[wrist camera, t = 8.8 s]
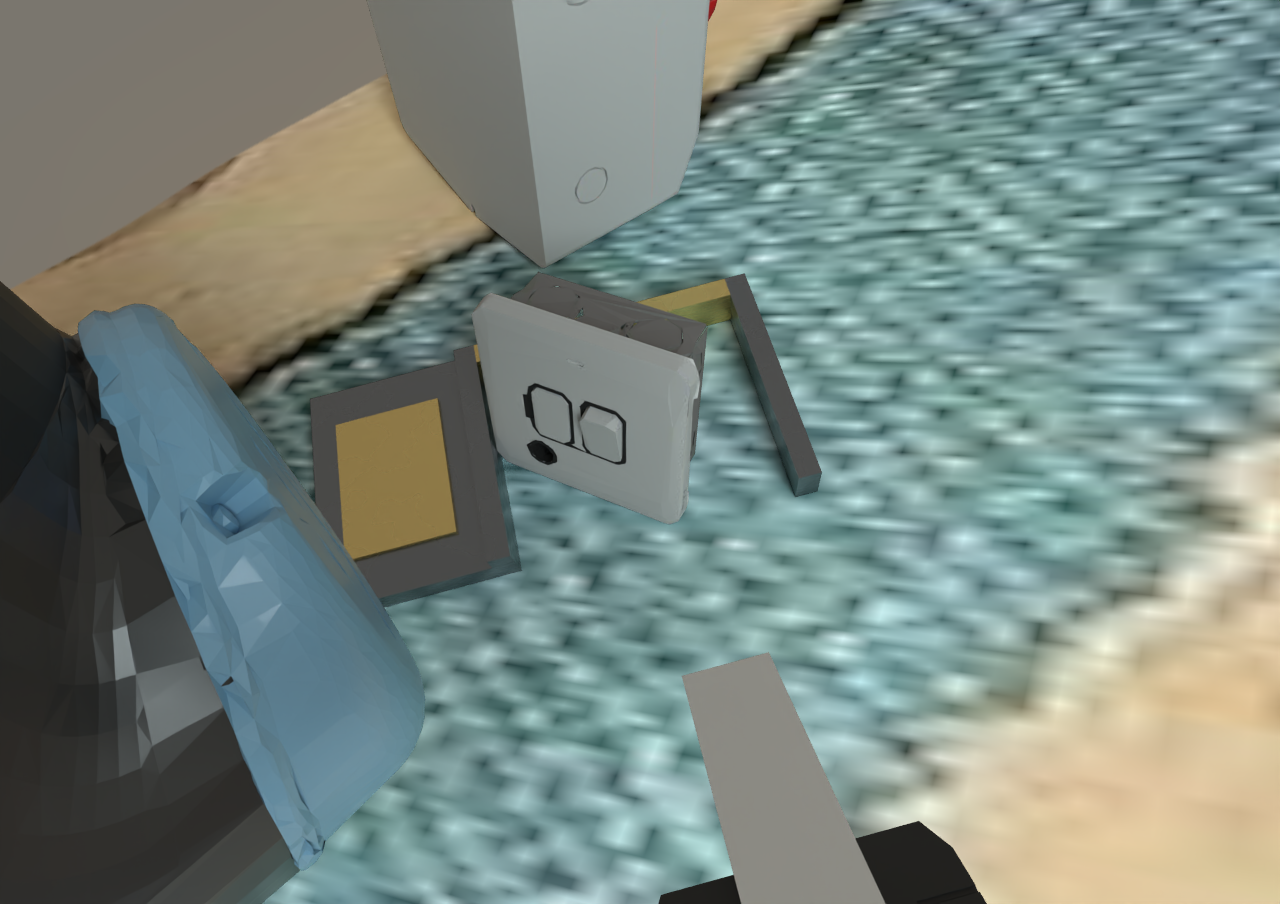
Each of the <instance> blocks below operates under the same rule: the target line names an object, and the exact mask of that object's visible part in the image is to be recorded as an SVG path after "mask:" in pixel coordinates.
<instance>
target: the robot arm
mask: <svg viewBox="0 0 1280 904" xmlns="http://www.w3.org/2000/svg"><path fill="white" fill-rule="evenodd" d="M78 325H79V326H78V333H77V334H75V335H74V336H70V335H68V334H66V333H64V332H62V331H60V330H58V329H56V328H54V327H53V326H52V325H50V324H49V323H48V322H47V321H46V320H44V319H43V318H42V317H41V316H40V315H39V314H37V313H36V312H35V311H34V310H33V309H32V308H31V307H29V306H28V305H27V304H26V303H25V302H24V301H22V300H21V299H20V298H19V297H18V296H17V295H16V294H14V293H13V292H12V291H11V290H10V289H9V288H7V287H6V286H5V285H4V284H3V283H2V282H0V904H261V903H263V902H264V901H265V900H266V899H267V898H268V897H270V896H271V895H272V894H273V893H274V892H275V891H277V890H278V889H279V888H280V887H281V886H282V885H284V884H285V883H286V882H287V881H288V880H289V879H291V878H292V877H293V876H294V875H295V874H296V873H298V872H299V871H300V870H301V871H303V870H306V869H308V868H309V867H310V866H311V865H313V864H314V863H315V862H316V861H317V860H318V858H319V857H320V855H321V854H322V852H323V849H324V844H325V841H326V840H327V839H328V838H329V837H330V836H331V835H332V834H333V833H334V832H335V831H336V830H337V829H338V828H339V827H340V826H341V825H342V824H343V823H345V822H346V821H347V820H348V819H349V818H350V817H351V816H352V815H353V814H354V813H355V812H356V811H357V810H358V809H359V808H360V807H361V806H362V805H363V804H364V803H365V802H366V801H367V800H368V799H369V798H370V797H371V796H372V795H373V794H374V793H375V792H376V791H377V790H378V789H379V788H380V787H381V786H382V785H383V784H384V783H385V782H386V781H387V780H388V779H389V778H390V777H391V776H392V775H393V774H394V773H395V772H396V771H397V770H398V769H399V768H400V767H401V766H402V765H403V764H404V762H405V761H406V760H407V759H408V757H409V756H410V754H411V753H412V751H413V749H414V748H415V744H416V742H417V740H418V738H419V735H420V733H421V730H422V727H423V722H424V717H425V715H424V709H425V695H424V688H423V682H422V678H421V675H420V672H419V670H418V667H417V665H416V663H415V661H414V659H413V657H412V655H411V653H410V651H409V650H408V648H407V646H406V644H405V643H404V641H403V639H402V637H401V635H400V634H399V632H398V630H397V628H396V627H395V625H394V623H393V622H392V620H391V618H390V617H389V615H388V613H387V612H386V610H385V608H384V607H383V605H382V604H381V602H380V601H379V599H378V597H377V596H376V594H375V593H374V591H373V590H372V588H371V586H370V585H369V583H368V582H367V580H366V579H365V577H364V576H363V574H362V573H361V571H360V570H359V568H358V567H357V565H356V564H355V562H354V560H353V559H352V557H351V556H350V554H349V553H348V551H347V550H346V548H345V547H344V545H343V544H342V542H341V541H340V540H339V538H338V537H337V535H336V534H335V532H334V531H333V529H332V528H331V526H330V525H329V524H328V522H327V521H326V519H325V518H324V516H323V515H322V513H321V512H320V511H319V509H318V508H317V506H316V505H315V503H314V502H313V500H312V499H311V498H310V496H309V495H308V493H307V492H306V491H305V489H304V488H303V486H302V485H301V484H300V482H299V481H298V479H297V478H296V477H295V475H294V474H293V472H292V471H291V470H290V468H289V467H288V466H287V464H286V463H285V461H284V460H283V459H282V457H281V456H280V454H279V453H278V452H277V450H276V449H275V447H274V446H273V445H272V443H271V442H270V440H269V439H268V438H267V436H266V435H265V434H264V432H263V431H262V430H261V428H260V427H259V426H258V424H257V423H256V422H255V420H254V419H253V418H252V416H251V415H250V414H249V412H248V411H247V410H246V408H245V407H244V406H243V404H242V403H241V402H240V400H239V399H238V398H237V397H236V395H235V394H234V393H233V391H232V390H231V389H230V388H229V386H228V385H227V384H226V382H225V381H224V380H223V379H222V377H221V376H220V375H219V374H218V372H217V371H216V370H215V368H214V367H213V366H212V365H211V364H210V363H209V361H208V360H207V359H206V358H205V357H204V356H203V354H202V353H201V352H200V351H199V350H198V349H197V347H195V346H194V345H193V344H191V343H190V342H189V341H188V340H187V339H186V338H185V336H184V335H183V334H182V333H181V332H180V331H179V330H178V329H177V327H176V325H175V323H174V321H173V320H172V319H170V318H169V317H168V316H167V315H166V314H165V313H163V312H162V311H160V310H158V309H157V308H155V307H153V306H149V305H145V304H132V305H128V306H124V307H122V308H120V309H118V310H116V311H113V312H110V313H109V312H105V311H95V310H94V311H93V312H92V313H90V314H89V315H88V316H87V317H85V318H84V319H83V320H82V321H80V322H79V323H78ZM682 678H683V682H684V686H685V690H686V694H687V697H688V701H689V705H690V709H691V713H692V717H693V720H694V724H695V728H696V732H697V736H698V740H699V743H700V747H701V751H702V755H703V759H704V763H705V766H706V770H707V774H708V778H709V782H710V786H711V789H712V793H713V797H714V801H715V805H716V809H717V812H718V816H719V820H720V824H721V828H722V832H723V835H724V839H725V843H726V847H727V851H728V855H729V858H730V862H731V866H732V870H733V874H734V875H731V876H728V877H724V878H721V879H717V880H713V881H710V882H706V883H703V884H699V885H695V886H692V887H688V888H685V889H681V890H677V891H674V892H670V893H667V894H663V895H661V897H660V900H659V904H987V903H986V902H985V900H984V898H983V897H982V895H981V893H980V892H978V891H977V889H976V886H975V884H974V882H973V880H972V879H971V877H970V875H969V874H968V872H967V870H966V869H965V867H964V865H963V864H962V862H961V860H960V859H959V857H958V856H957V854H956V852H955V851H954V849H953V848H952V847H951V846H950V845H949V844H947V843H946V842H945V841H944V840H942V839H941V838H940V837H938V836H937V835H936V834H935V833H933V832H932V831H931V830H930V829H928V828H927V827H926V826H925V825H923V824H922V823H921V822H919V821H917V822H913V823H910V824H906V825H903V826H899V827H895V828H892V829H888V830H885V831H881V832H877V833H874V834H870V835H867V836H863V837H859V838H856V839H855V837H854V835H853V833H852V831H851V828H850V826H849V824H848V822H847V820H846V818H845V816H844V813H843V811H842V809H841V807H840V805H839V803H838V800H837V798H836V796H835V794H834V792H833V790H832V787H831V785H830V783H829V781H828V779H827V777H826V775H825V772H824V770H823V768H822V766H821V764H820V762H819V759H818V757H817V755H816V753H815V751H814V749H813V747H812V744H811V742H810V740H809V738H808V736H807V734H806V731H805V729H804V727H803V725H802V723H801V721H800V719H799V716H798V714H797V712H796V710H795V708H794V706H793V703H792V701H791V699H790V697H789V695H788V693H787V691H786V688H785V686H784V684H783V682H782V680H781V678H780V675H779V673H778V671H777V669H776V667H775V665H774V663H773V660H772V658H771V656H770V654H769V652H768V653H765V654H761V655H757V656H754V657H750V658H746V659H743V660H739V661H735V662H732V663H728V664H724V665H721V666H717V667H713V668H710V669H706V670H702V671H699V672H695V673H691V674H688V675H684V676H682Z"/></svg>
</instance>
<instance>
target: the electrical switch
mask: <svg viewBox="0 0 1280 904" xmlns="http://www.w3.org/2000/svg"><path fill="white" fill-rule="evenodd" d="M555 286H559V287H555ZM577 296H578V297H577ZM581 309H582V310H583V313H584V316H581V317H579V318H576V316H577V315H578V313H579V312H580V310H581ZM471 315H472V320H473V325H474V331H475V336H476V341H477V346H478V352H479V357H480V362H481V368H482V373H483V378H484V384H485V389H486V394H487V400H488V405H489V410H490V416H491V421H492V426H493V432H494V437H495V442H496V448H497V451H498V452H499V453H500V454H501V455H502V456H503V457H504V458H505V459H506V460H507V461H508V462H510V463H512V464H515V465H517V466H520V467H522V468H525V469H527V470H530V471H532V472H535V473H538V474H540V475H543V476H545V477H548V478H550V479H553V480H556V481H558V482H561V483H563V484H566V485H568V486H571V487H573V488H576V489H579V490H581V491H584V492H586V493H589V494H591V495H594V496H596V497H599V498H602V499H604V500H607V501H609V502H612V503H614V504H617V505H620V506H622V507H625V508H627V509H630V510H632V511H635V512H637V513H640V514H643V515H645V516H648V517H650V518H653V519H655V520H658V521H661V522H663V523H666V524H672V523H675V522H677V521H679V519H680V518H681V516H682V514H683V513H684V511H685V510H686V508H687V504H688V495H689V491H688V484H689V467H690V461H691V459H692V457H693V456H694V454H695V447H696V437H697V427H698V417H699V407H700V397H701V387H702V377H703V367H704V357H705V348H706V338H707V328H708V327H707V328H706V330H705V331H704V329H705V327H706V324H705V323H702V322H698V321H695V320H692V319H689V318H685V317H682V316H679V315H676V314H673V313H669V312H666V311H663V310H660V309H656V308H653V307H650V306H647V305H643V304H640V303H637V302H634V301H631V300H627V299H624V298H621V297H618V296H614V295H611V294H608V293H605V292H601V291H598V290H595V289H592V288H588V287H585V286H582V285H579V284H576V283H572V282H569V281H566V280H563V279H559V278H556V277H553V276H550V275H546V274H543V273H540V272H538V273H537V274H536V275H535V276H534V277H533V279H532V280H531V281H530V282H529V283H528V284H527V285H526V286H525V287H524V289H523V290H521V291H519V292H517V293H516V294H514V295H513V296H512V297H511V298H510V299H509V298H506V297H503V296H500V295H496V294H493V293H489V294H488V295H486V296H485V297H484V298H483V299H482V300H481V302H480V303H479V304H478V306H477V307H476V308H475V310H474V311H473V313H472V314H471ZM566 317H569V318H566ZM575 318H576V319H575ZM666 319H667V320H666ZM669 321H670V322H669ZM634 323H637V324H635V325H634ZM633 325H634V326H633ZM623 327H624V328H623ZM622 329H623V330H622ZM703 331H704V333H703V334H702V332H703ZM682 333H683V339H682ZM701 334H702V335H701ZM700 336H701V337H700ZM699 337H700V338H699ZM697 340H698V341H697Z"/></svg>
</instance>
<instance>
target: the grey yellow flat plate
mask: <svg viewBox="0 0 1280 904" xmlns="http://www.w3.org/2000/svg"><path fill="white" fill-rule="evenodd" d="M637 303H640V304H643V305H647V306H650V307H653V308H656V309H660V310H663V311H666V312H669V313H673V314H676V315H679V316H682V317H685V318H689V319H692V320H695V321H698V322H702V323H705V324H706V326H708V325H712V324H716V323H719V322H723V321H727V320H731V322H732V325H733V327H734V330H735V333H736V335H737V338H738V341H739V344H740V346H741V349H742V352H743V355H744V357H745V360H746V363H747V366H748V368H749V371H750V374H751V377H752V379H753V382H754V385H755V387H756V390H757V393H758V396H759V398H760V401H761V404H762V407H763V409H764V412H765V415H766V418H767V420H768V423H769V426H770V428H771V431H772V434H773V437H774V439H775V442H776V445H777V448H778V450H779V453H780V456H781V459H782V461H783V464H784V467H785V470H786V472H787V475H788V478H789V480H790V483H791V486H792V489H793V491H794V494H795V497H798V496H801V495H805V494H809V493H813V492H816V491H818V487H819V482H820V478H821V474H822V471H821V469H820V466H819V464H818V461H817V459H816V456H815V453H814V451H813V448H812V446H811V443H810V441H809V438H808V435H807V433H806V430H805V428H804V425H803V423H802V420H801V417H800V415H799V412H798V410H797V407H796V405H795V402H794V399H793V397H792V394H791V392H790V389H789V387H788V384H787V381H786V379H785V376H784V374H783V371H782V369H781V366H780V363H779V361H778V358H777V356H776V353H775V351H774V348H773V345H772V343H771V340H770V338H769V335H768V333H767V330H766V327H765V325H764V322H763V320H762V317H761V315H760V312H759V309H758V307H757V304H756V302H755V299H754V297H753V294H752V291H751V289H750V286H749V284H748V281H747V279H746V276H745V273H744V274H741V275H737V276H733V277H729V278H726V279H722V280H718V281H714V282H710V283H707V284H703V285H699V286H695V287H692V288H688V289H684V290H680V291H676V292H673V293H669V294H665V295H661V296H658V297H654V298H650V299H646V300H643V301H639V302H637ZM578 318H579V317H578ZM575 319H576V318H575ZM666 320H667V319H666ZM669 322H670V321H669ZM635 324H637V323H634V325H635ZM634 325H633V326H634ZM623 328H624V327H623ZM622 330H623V329H622ZM454 357H455V361H452V362H448V363H444V364H441V365H437V366H433V367H429V368H425V369H422V370H418V371H414V372H410V373H407V374H403V375H399V376H395V377H391V378H388V379H384V380H380V381H376V382H373V383H369V384H365V385H361V386H358V387H354V388H350V389H346V390H342V391H339V392H335V393H331V394H327V395H324V396H320V397H316V398H312V399H310V406H311V425H312V444H313V462H314V481H315V500H316V506H317V508H318V509H319V511H320V512H321V513H322V515H323V516H324V518H325V519H326V521H327V522H328V524H329V525H330V526H331V528H332V529H333V531H334V532H335V534H336V535H337V537H338V538H339V540H340V541H341V542H342V544H343V545H344V547H345V548H346V550H347V551H348V553H349V554H350V556H351V557H352V559H353V560H354V562H355V564H356V565H357V567H358V568H359V570H360V571H361V573H362V574H363V576H364V577H365V579H366V580H367V582H368V583H369V585H370V586H371V588H372V590H373V591H374V593H375V594H376V596H377V597H378V599H379V601H380V602H381V604H382V605H383V607H387V606H391V605H395V604H399V603H402V602H406V601H410V600H413V599H417V598H421V597H425V596H428V595H432V594H436V593H440V592H443V591H447V590H451V589H454V588H458V587H462V586H466V585H469V584H473V583H477V582H481V581H484V580H488V579H492V578H496V577H499V576H503V575H507V574H510V573H514V572H518V571H522V569H521V564H520V558H519V553H518V547H517V541H516V536H515V530H514V525H513V519H512V513H511V508H510V502H509V497H508V491H507V485H506V480H505V474H504V469H503V463H502V457H501V454H500V453H499V452H498V451H497V448H496V442H495V437H494V432H493V426H492V421H491V416H490V410H489V405H488V400H487V394H486V389H485V384H484V378H483V373H482V368H481V362H480V357H479V352H478V346H477V345H473V346H469V347H465V348H461V349H458V350H454Z"/></svg>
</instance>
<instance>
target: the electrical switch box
mask: <svg viewBox="0 0 1280 904" xmlns="http://www.w3.org/2000/svg"><path fill="white" fill-rule="evenodd" d="M716 3H717V0H367V4H368V7H369V11H370V14H371V18H372V21H373V25H374V28H375V32H376V35H377V39H378V42H379V46H380V50H381V53H382V57H383V60H384V64H385V67H386V71H387V74H388V78H389V81H390V85H391V88H392V92H393V95H394V99H395V102H396V106H397V109H398V113H399V117H400V120H401V123H402V125H403V127H404V129H405V131H406V133H407V134H408V135H409V137H410V138H411V139H412V140H413V142H414V143H415V144H416V145H417V146H418V148H419V149H420V150H421V151H422V152H423V154H424V155H425V156H426V157H427V158H428V160H429V161H430V162H431V163H432V164H433V166H434V167H435V168H436V169H437V170H438V172H439V173H440V174H441V175H442V176H443V178H444V179H445V180H446V181H447V183H448V184H449V185H450V186H451V187H452V189H453V190H454V191H455V192H456V193H457V195H458V196H459V197H460V198H461V199H462V201H463V202H464V203H465V204H466V205H467V207H468V208H469V209H470V210H471V211H472V212H473V211H475V213H476V216H477V217H478V218H479V219H480V220H482V221H483V222H484V223H485V224H487V225H488V226H489V227H490V228H492V229H493V230H494V231H496V232H497V233H498V234H499V235H501V236H502V237H503V238H504V239H506V240H507V241H508V242H509V243H511V244H512V245H513V246H515V247H516V248H517V249H518V250H520V251H521V252H522V253H523V254H525V255H526V256H527V257H528V258H530V259H531V260H532V261H534V262H535V263H536V264H537V265H539V266H540V267H541V268H545V267H547V266H549V265H551V264H553V263H555V262H556V261H558V260H560V259H562V258H564V257H565V256H567V255H569V254H571V253H573V252H574V251H576V250H578V249H580V248H582V247H583V246H585V245H587V244H589V243H591V242H593V241H594V240H596V239H598V238H600V237H602V236H603V235H605V234H607V233H609V232H611V231H612V230H614V229H616V228H618V227H620V226H622V225H623V224H625V223H627V222H629V221H631V220H632V219H634V218H636V217H638V216H640V215H641V214H643V213H645V212H647V211H649V210H651V209H652V208H654V207H656V206H657V205H659V204H661V203H662V202H664V201H666V200H668V199H669V198H671V197H673V196H674V195H676V194H677V193H678V192H679V189H680V186H681V183H682V180H683V178H684V175H685V172H686V169H687V166H688V163H689V160H690V157H691V154H692V151H693V148H694V145H695V143H696V140H697V137H698V134H699V122H700V110H701V98H702V86H703V74H704V62H705V50H706V38H707V26H708V21H709V19H710V17H711V15H712V13H713V12H714V10H715V7H716Z"/></svg>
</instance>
